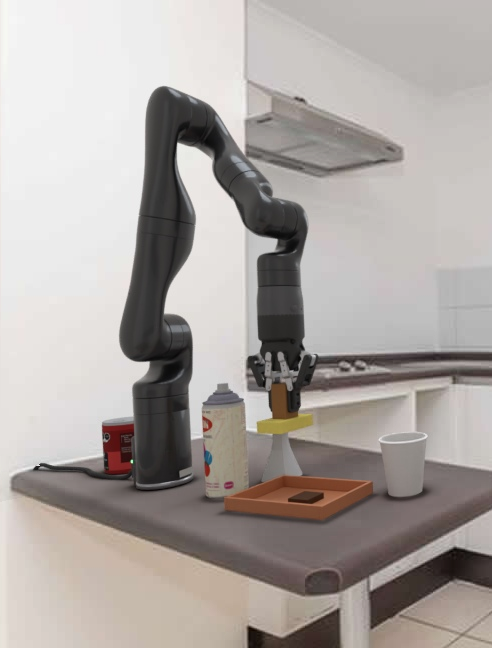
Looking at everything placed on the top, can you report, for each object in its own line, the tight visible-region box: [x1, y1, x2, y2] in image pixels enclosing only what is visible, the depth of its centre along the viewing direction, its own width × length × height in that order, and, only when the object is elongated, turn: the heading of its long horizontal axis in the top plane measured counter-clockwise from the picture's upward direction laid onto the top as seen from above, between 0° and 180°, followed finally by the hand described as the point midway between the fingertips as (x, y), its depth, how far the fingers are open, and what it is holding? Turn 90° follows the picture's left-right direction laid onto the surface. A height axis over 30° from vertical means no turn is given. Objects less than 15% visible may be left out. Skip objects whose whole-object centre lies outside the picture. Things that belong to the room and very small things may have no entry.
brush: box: [256, 382, 314, 435], centre depth 97 cm, size 5×8×8 cm, turn 162°
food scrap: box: [288, 491, 324, 504], centre depth 92 cm, size 4×4×1 cm
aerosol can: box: [201, 382, 250, 499], centre depth 99 cm, size 7×7×20 cm
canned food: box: [101, 416, 134, 475], centre depth 120 cm, size 8×8×11 cm
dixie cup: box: [378, 431, 429, 498], centre depth 96 cm, size 8×8×10 cm
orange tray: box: [223, 475, 374, 521], centre depth 92 cm, size 19×13×2 cm
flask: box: [260, 432, 303, 483], centre depth 107 cm, size 7×7×10 cm
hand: (284, 411), depth 97 cm, fingers closed on brush, 3 cm apart
